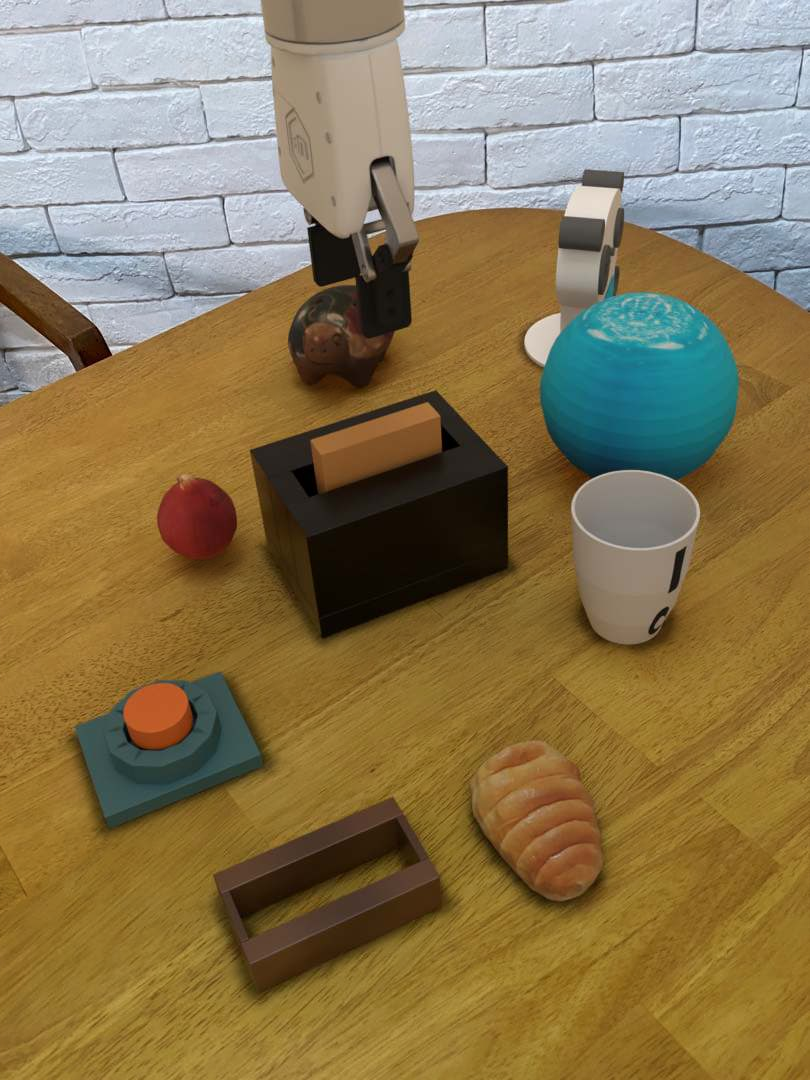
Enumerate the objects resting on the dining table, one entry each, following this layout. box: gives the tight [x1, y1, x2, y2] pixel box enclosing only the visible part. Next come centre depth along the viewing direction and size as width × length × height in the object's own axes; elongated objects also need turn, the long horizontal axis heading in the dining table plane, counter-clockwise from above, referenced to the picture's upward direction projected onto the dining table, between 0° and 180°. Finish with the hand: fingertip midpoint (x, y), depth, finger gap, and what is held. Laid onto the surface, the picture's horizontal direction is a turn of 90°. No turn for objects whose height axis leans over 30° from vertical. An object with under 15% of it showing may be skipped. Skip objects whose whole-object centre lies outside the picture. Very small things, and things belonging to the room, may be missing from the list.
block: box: [74, 671, 264, 830], centre depth 72 cm, size 10×8×3 cm
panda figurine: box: [524, 168, 625, 369], centre depth 101 cm, size 12×11×15 cm
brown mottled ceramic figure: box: [287, 284, 396, 389], centre depth 103 cm, size 10×15×8 cm, turn 172°
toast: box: [310, 402, 442, 494], centre depth 81 cm, size 9×2×10 cm, turn 116°
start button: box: [123, 683, 193, 750], centre depth 70 cm, size 4×4×2 cm
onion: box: [156, 473, 238, 561], centre depth 84 cm, size 6×6×8 cm
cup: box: [570, 470, 701, 645], centre depth 76 cm, size 8×8×10 cm
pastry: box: [469, 740, 604, 902], centre depth 65 cm, size 9×7×4 cm
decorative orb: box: [539, 291, 740, 482], centre depth 87 cm, size 15×15×15 cm
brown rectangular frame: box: [213, 796, 443, 993], centre depth 63 cm, size 11×6×3 cm, turn 116°
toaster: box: [249, 389, 509, 640], centre depth 82 cm, size 15×11×10 cm
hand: (361, 302), depth 71 cm, fingers open, 6 cm apart
